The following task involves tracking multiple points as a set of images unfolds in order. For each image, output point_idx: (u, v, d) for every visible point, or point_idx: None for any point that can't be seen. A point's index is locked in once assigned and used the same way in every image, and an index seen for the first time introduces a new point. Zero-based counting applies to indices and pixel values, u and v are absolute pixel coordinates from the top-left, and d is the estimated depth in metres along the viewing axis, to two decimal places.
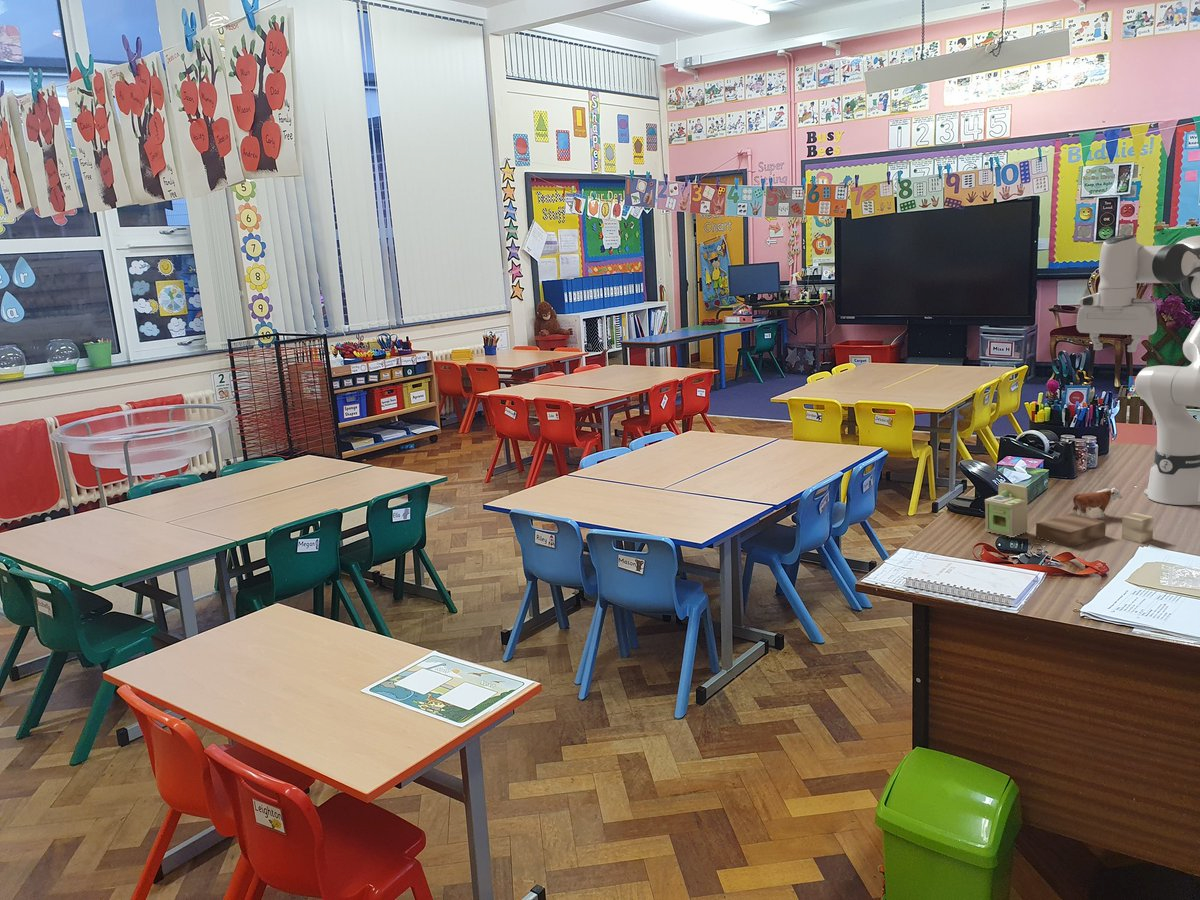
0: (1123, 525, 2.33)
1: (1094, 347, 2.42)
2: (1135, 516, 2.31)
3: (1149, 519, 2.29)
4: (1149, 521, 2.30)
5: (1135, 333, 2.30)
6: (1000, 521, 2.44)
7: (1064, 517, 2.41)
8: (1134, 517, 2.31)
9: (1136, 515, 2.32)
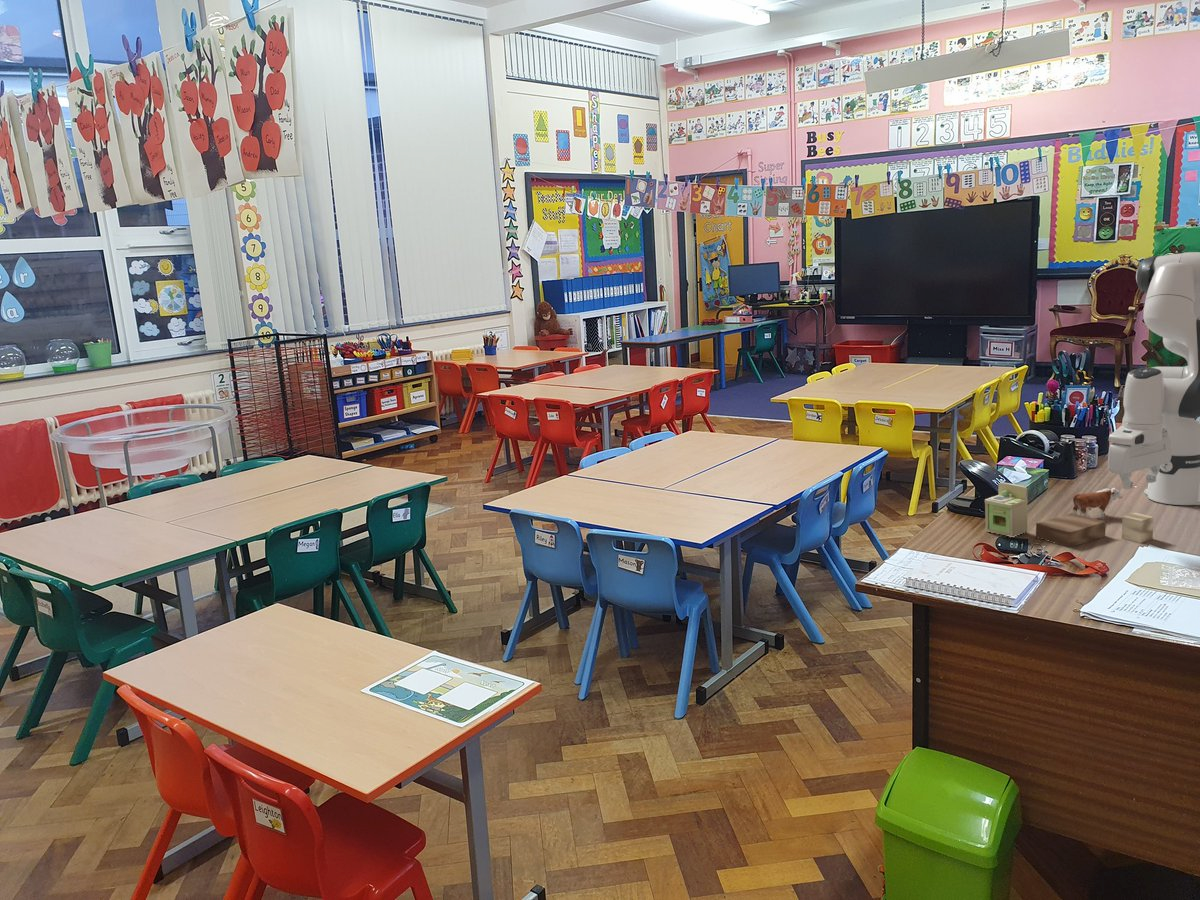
0: (1123, 525, 2.33)
1: (1129, 486, 2.26)
2: (1135, 516, 2.31)
3: (1149, 519, 2.29)
4: (1149, 521, 2.30)
5: (1163, 463, 2.29)
6: (1000, 521, 2.44)
7: (1064, 517, 2.41)
8: (1134, 517, 2.31)
9: (1136, 515, 2.32)
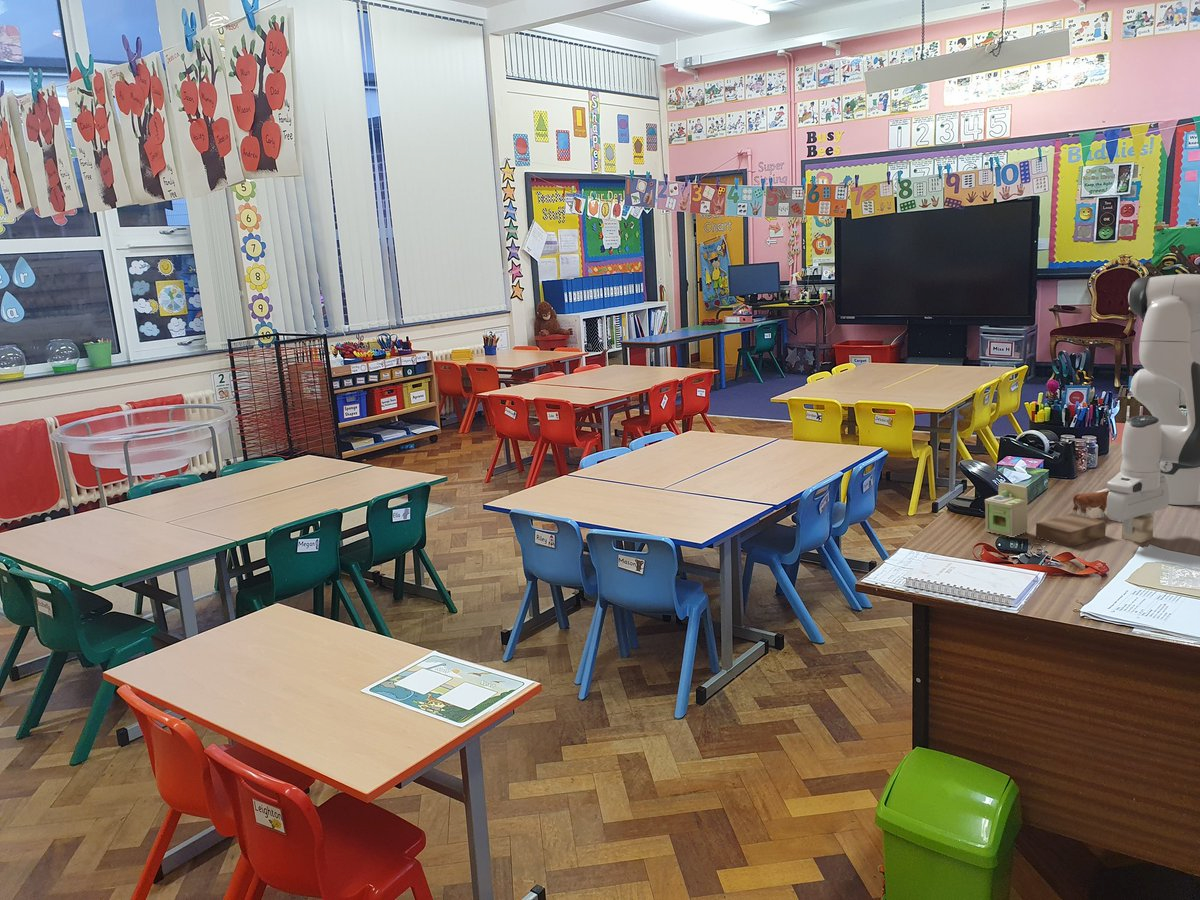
0: (1123, 525, 2.33)
1: (1131, 531, 2.30)
2: None
3: (1149, 519, 2.29)
4: (1149, 521, 2.30)
5: (1160, 508, 2.32)
6: (1000, 521, 2.44)
7: (1064, 517, 2.41)
8: None
9: None
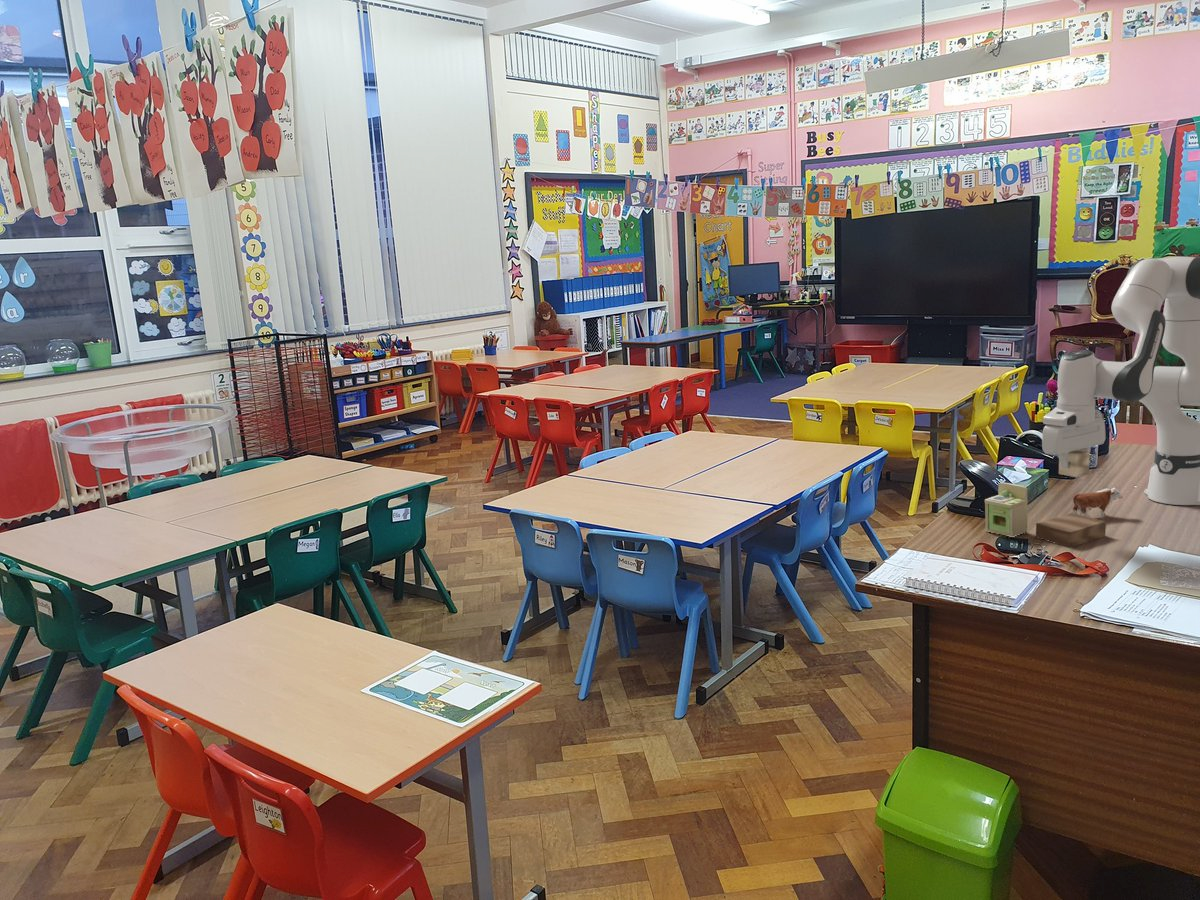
0: None
1: (1067, 466, 2.31)
2: (1072, 451, 2.33)
3: (1085, 453, 2.31)
4: (1085, 455, 2.31)
5: (1097, 444, 2.33)
6: (1000, 521, 2.44)
7: (1064, 517, 2.41)
8: (1070, 452, 2.32)
9: None
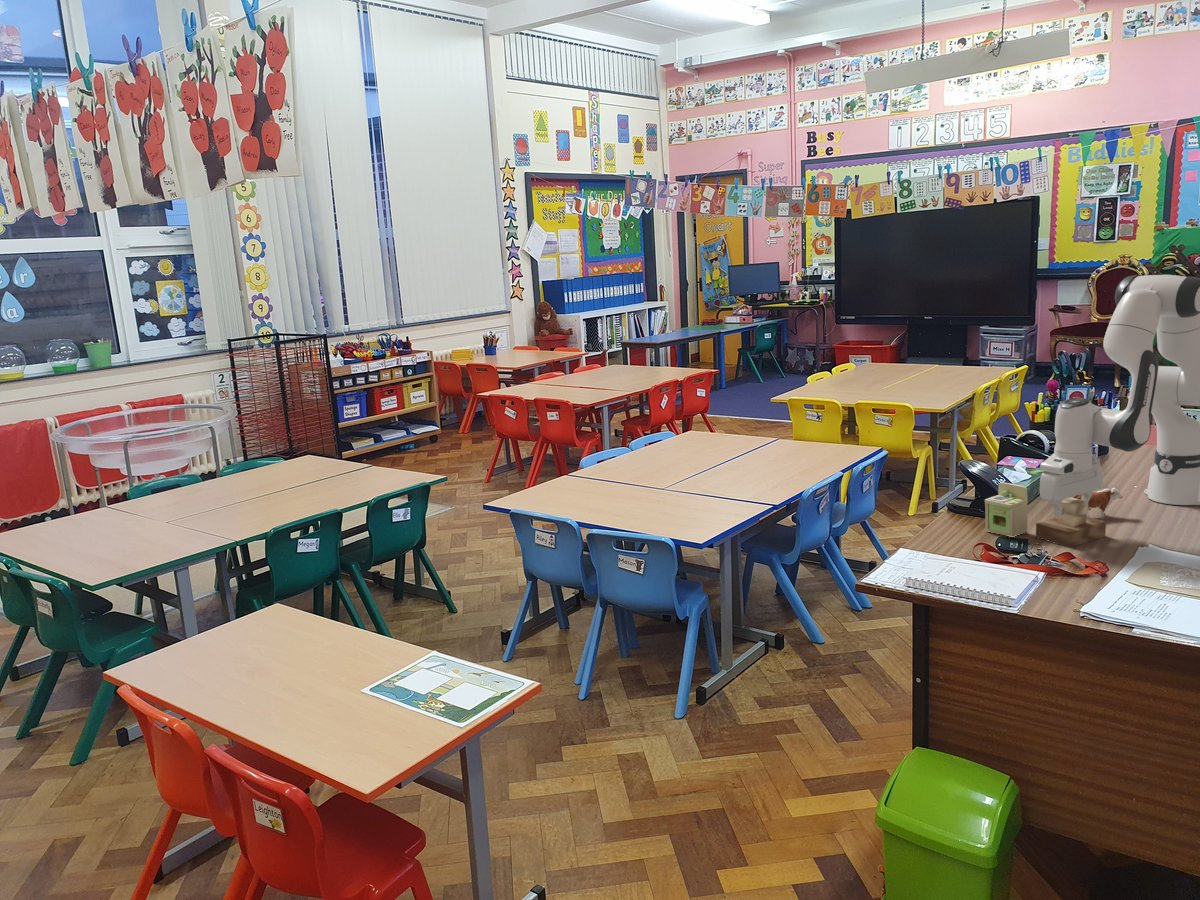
0: None
1: (1061, 513, 2.33)
2: (1069, 500, 2.36)
3: (1082, 503, 2.34)
4: (1082, 505, 2.34)
5: (1094, 489, 2.36)
6: (1000, 521, 2.44)
7: None
8: (1068, 501, 2.35)
9: (1070, 499, 2.37)
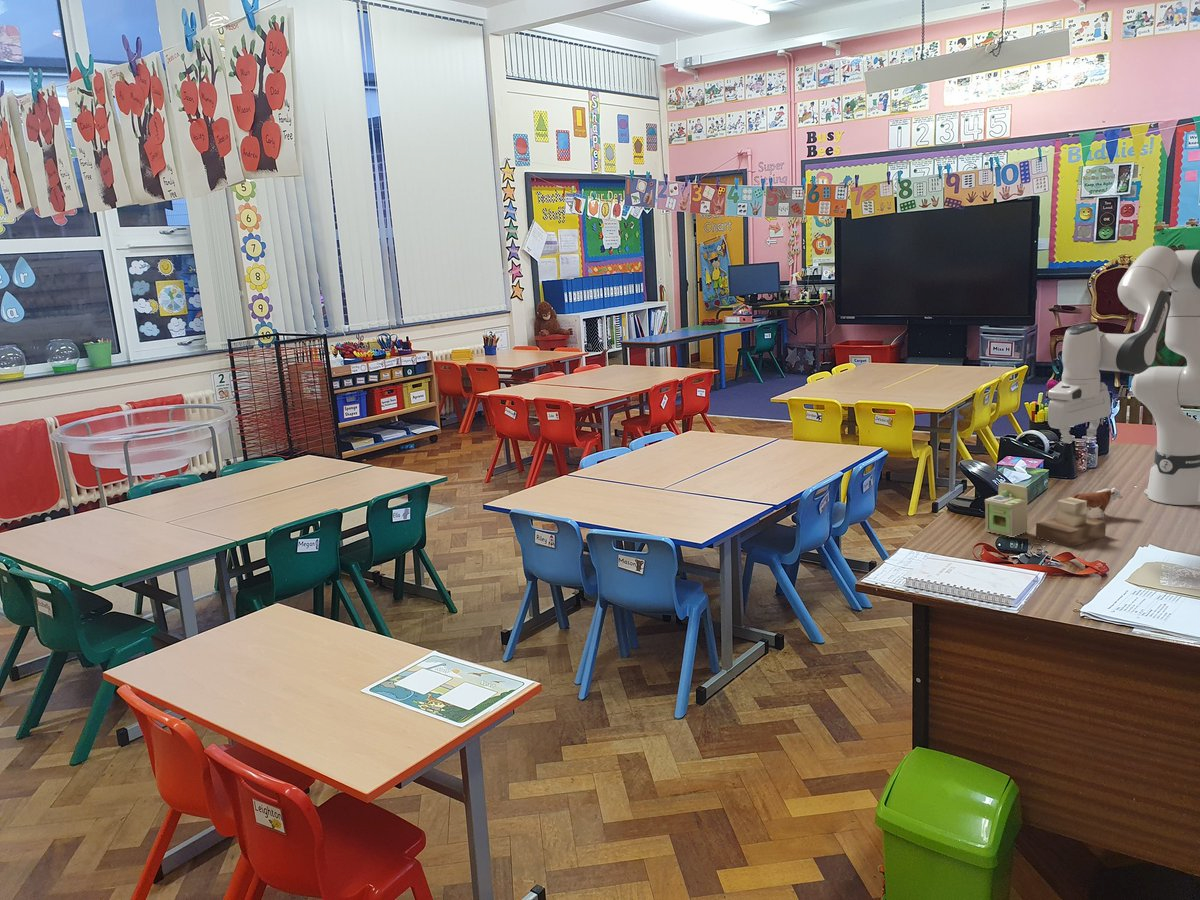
0: (1057, 509, 2.37)
1: (1069, 440, 2.32)
2: (1069, 500, 2.36)
3: (1082, 503, 2.34)
4: (1082, 505, 2.34)
5: (1102, 416, 2.35)
6: (1000, 521, 2.44)
7: None
8: (1068, 501, 2.35)
9: (1070, 499, 2.37)
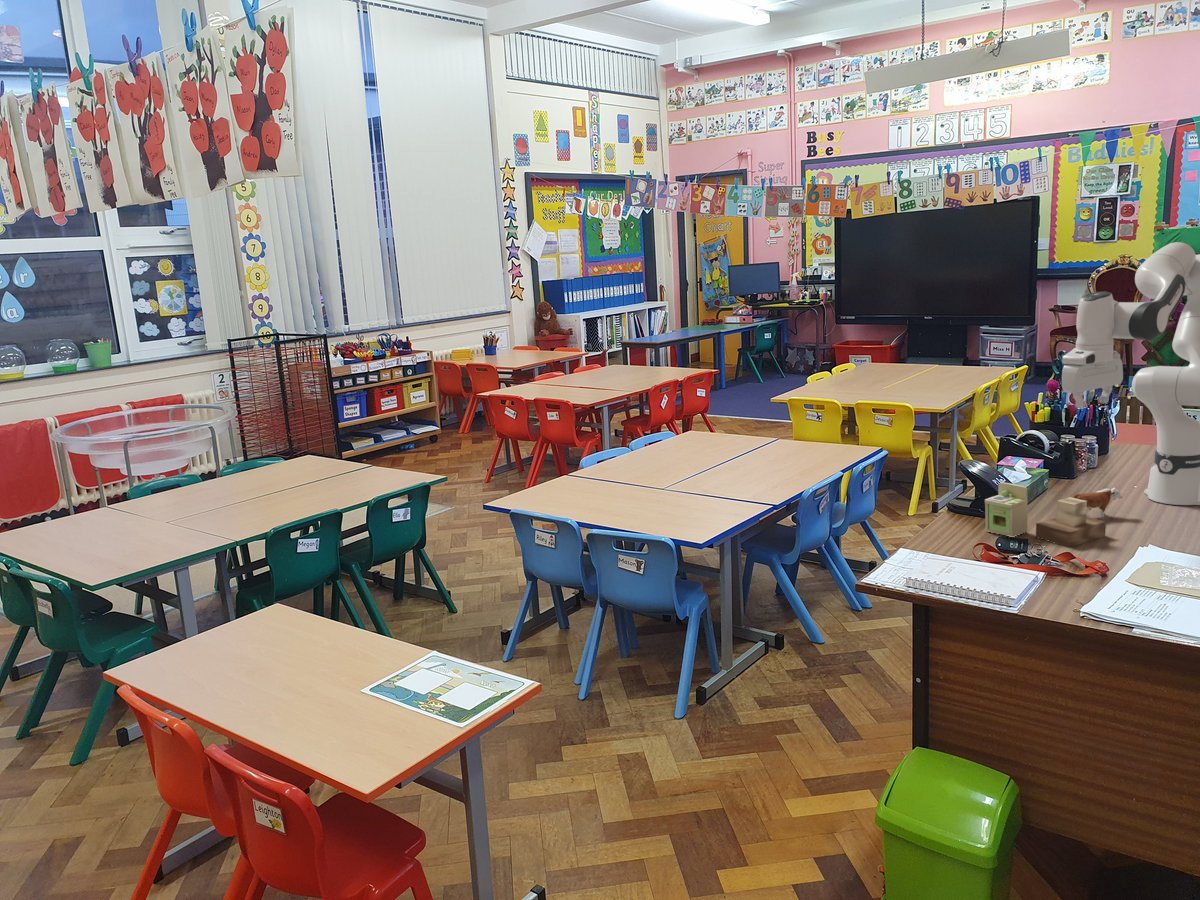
0: (1057, 509, 2.37)
1: (1082, 405, 2.38)
2: (1069, 500, 2.36)
3: (1082, 503, 2.34)
4: (1082, 505, 2.34)
5: (1114, 383, 2.41)
6: (1000, 521, 2.44)
7: None
8: (1068, 501, 2.35)
9: (1070, 499, 2.37)
